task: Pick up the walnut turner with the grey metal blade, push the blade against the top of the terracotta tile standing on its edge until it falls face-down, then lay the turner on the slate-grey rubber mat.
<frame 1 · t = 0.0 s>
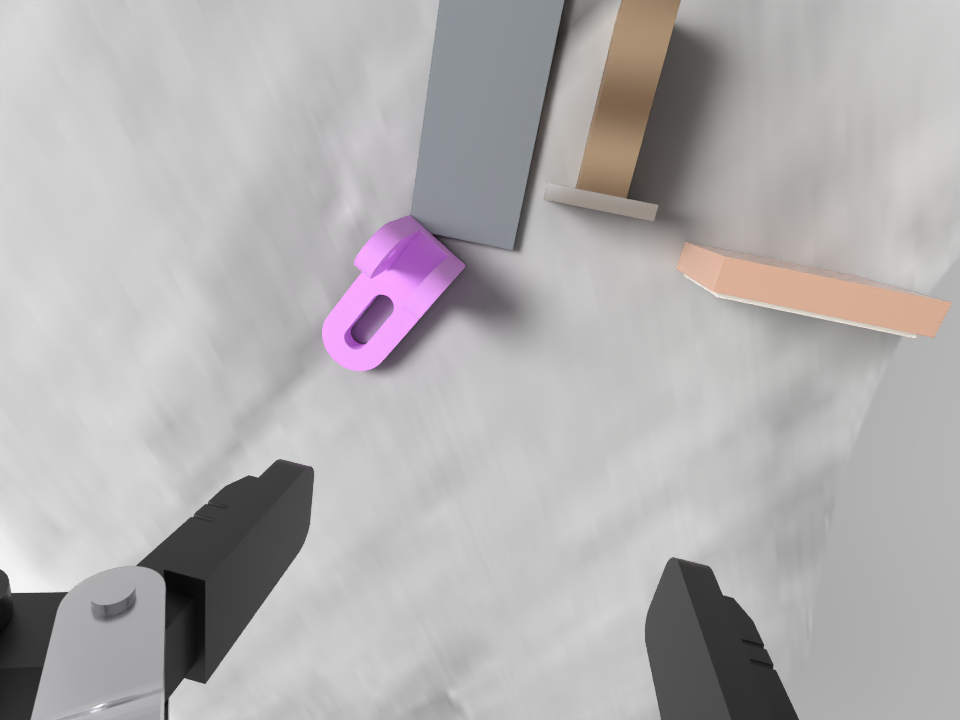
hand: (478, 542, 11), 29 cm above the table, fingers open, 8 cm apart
tile: (764, 272, 36), on the table
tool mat: (483, 109, 35), on the table
bracket: (388, 301, 40), on the table, touching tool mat
turner: (623, 85, 33), on the table
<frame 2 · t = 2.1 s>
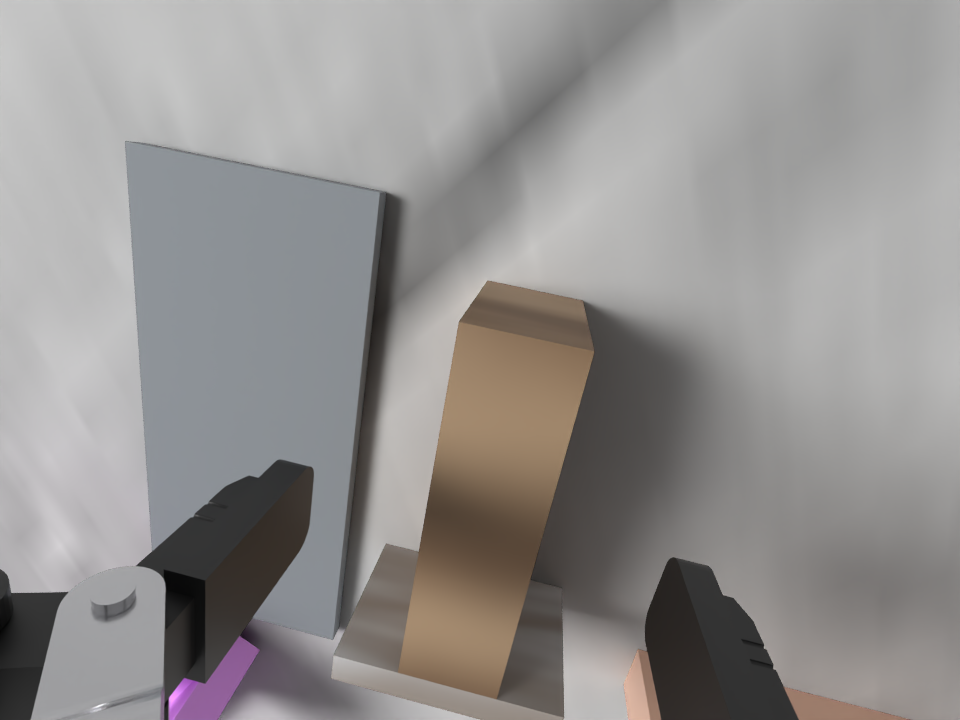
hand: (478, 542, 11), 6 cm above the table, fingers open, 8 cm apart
tile: (783, 705, 20), on the table
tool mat: (255, 423, 19), on the table
bracket: (149, 673, 24), on the table, touching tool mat
turner: (509, 404, 17), on the table
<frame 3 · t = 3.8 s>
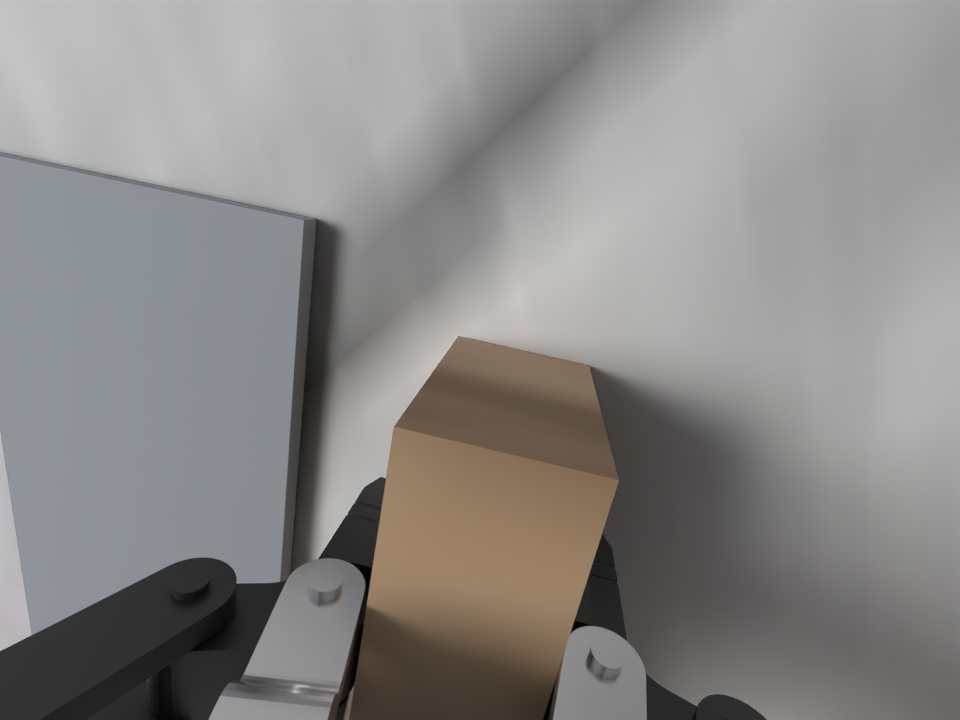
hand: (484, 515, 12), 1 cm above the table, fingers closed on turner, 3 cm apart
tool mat: (159, 513, 14), on the table
turner: (488, 501, 12), on the table, touching gripper
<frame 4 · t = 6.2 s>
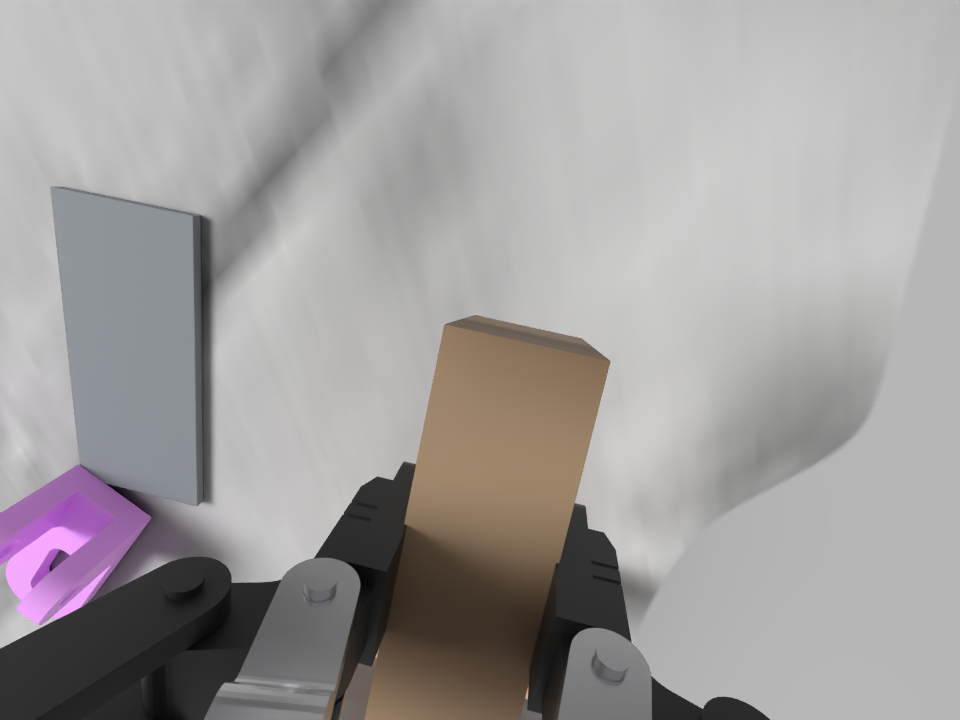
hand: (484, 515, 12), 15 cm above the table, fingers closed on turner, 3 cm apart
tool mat: (138, 358, 30), on the table
bracket: (82, 543, 35), on the table, touching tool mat
turner: (497, 462, 14), point 12 cm above the table, tilted 12°, touching gripper
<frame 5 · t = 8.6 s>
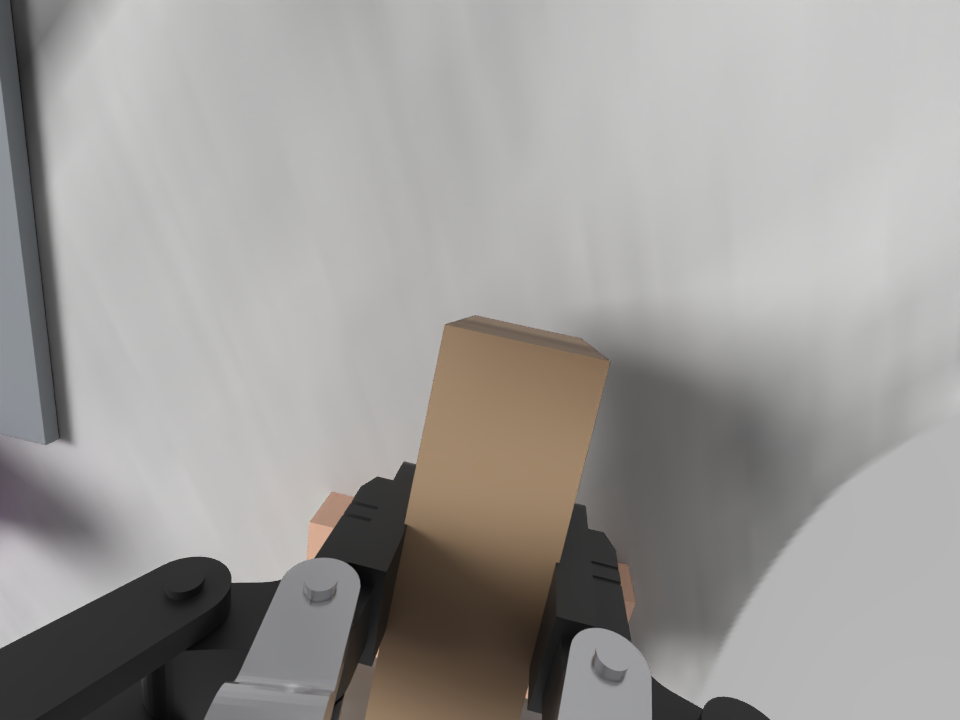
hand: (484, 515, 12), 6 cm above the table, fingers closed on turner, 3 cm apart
tile: (473, 543, 19), point 1 cm above the table, tilted 90°
turner: (497, 462, 14), point 4 cm above the table, tilted 12°, touching gripper
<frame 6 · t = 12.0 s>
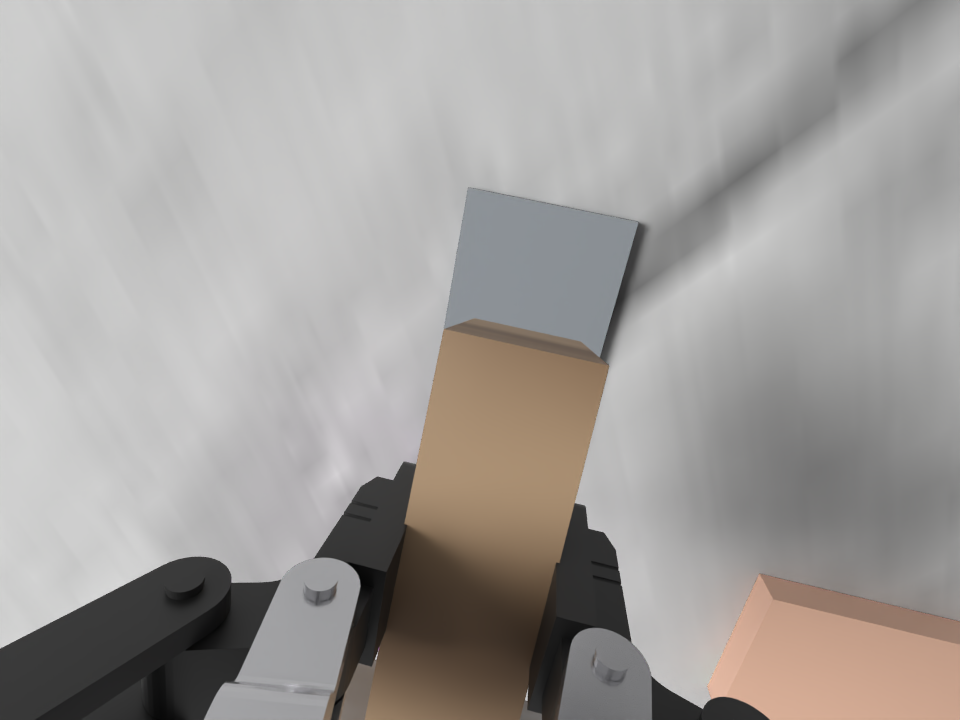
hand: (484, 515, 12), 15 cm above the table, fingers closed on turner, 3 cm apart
tile: (878, 612, 27), point 1 cm above the table, tilted 90°
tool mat: (512, 378, 27), on the table
turner: (496, 465, 14), point 12 cm above the table, tilted 11°, touching gripper
when the fingers open (3 cm above the table, at t = 14.8 s): turner stays where it is, resting on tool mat.
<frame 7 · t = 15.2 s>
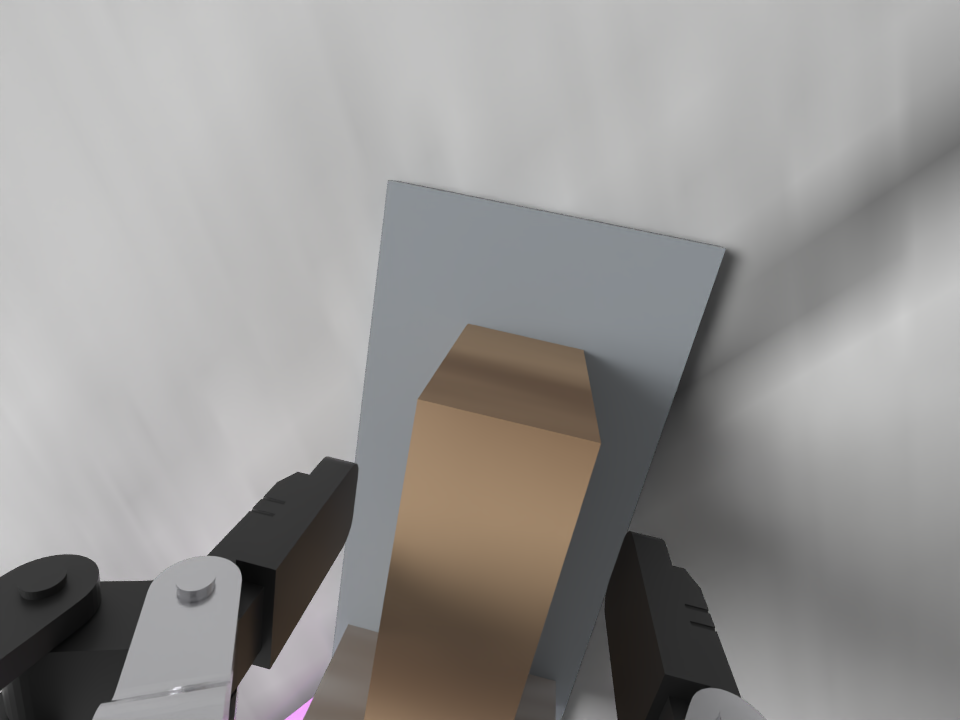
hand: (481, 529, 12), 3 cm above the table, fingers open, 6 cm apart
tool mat: (484, 515, 15), on the table
turner: (493, 470, 14), point 1 cm above the table, touching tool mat
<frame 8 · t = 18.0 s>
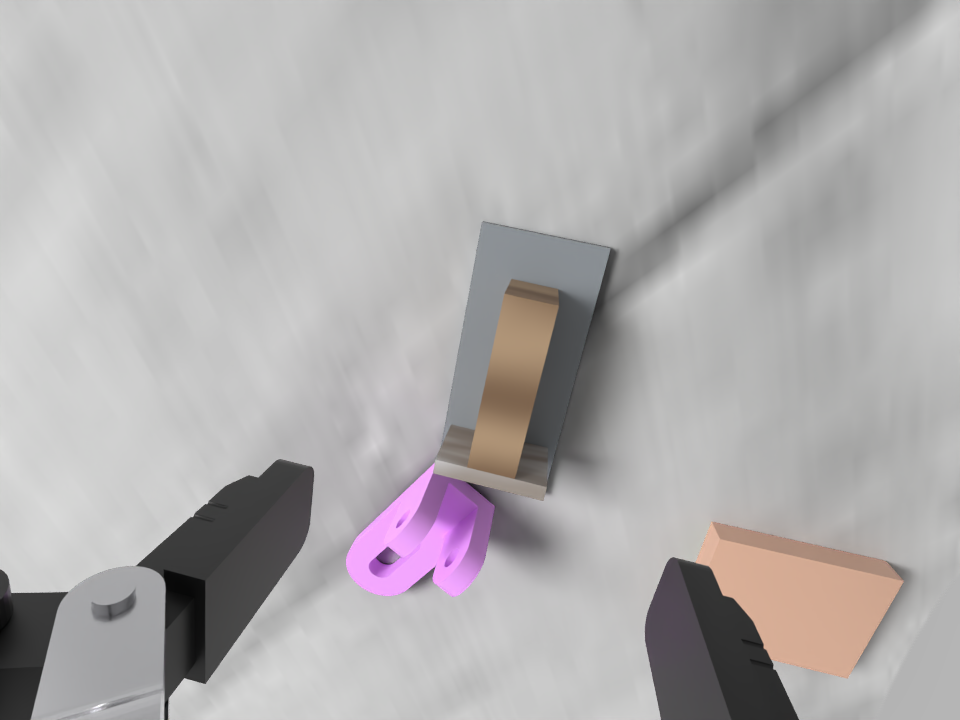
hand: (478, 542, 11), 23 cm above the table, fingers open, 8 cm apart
tile: (803, 549, 34), point 1 cm above the table, tilted 90°
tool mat: (515, 367, 34), on the table
bracket: (414, 529, 39), on the table, touching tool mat
turner: (520, 343, 33), point 1 cm above the table, touching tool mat
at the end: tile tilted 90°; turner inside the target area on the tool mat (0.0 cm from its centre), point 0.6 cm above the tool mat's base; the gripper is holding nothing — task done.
